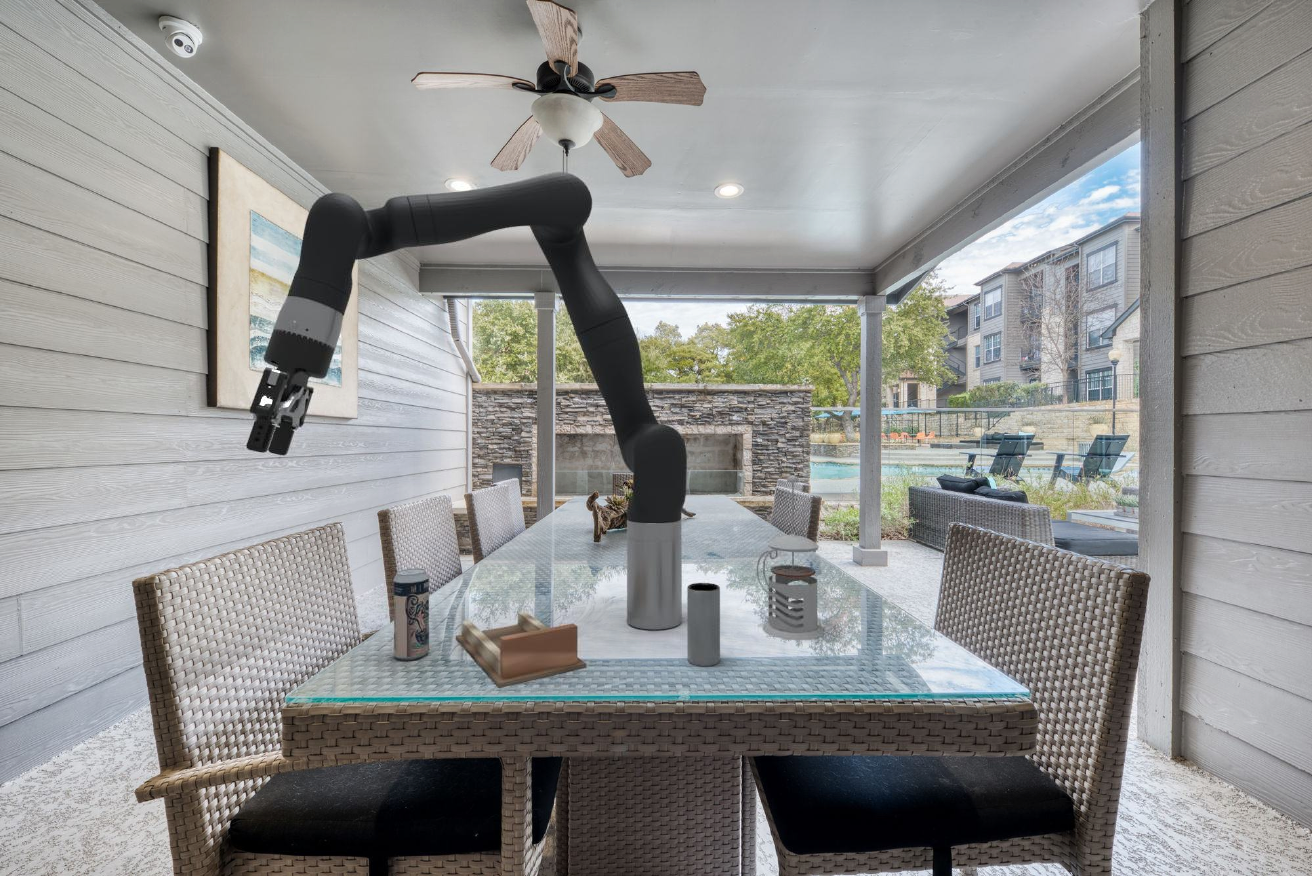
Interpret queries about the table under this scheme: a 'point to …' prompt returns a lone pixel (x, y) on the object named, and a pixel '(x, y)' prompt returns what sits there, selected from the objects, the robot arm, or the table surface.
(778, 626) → the french press
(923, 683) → the table surface
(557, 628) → the keeper track
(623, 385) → the robot arm
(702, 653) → the gray cylindrical tube
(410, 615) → the beer can
